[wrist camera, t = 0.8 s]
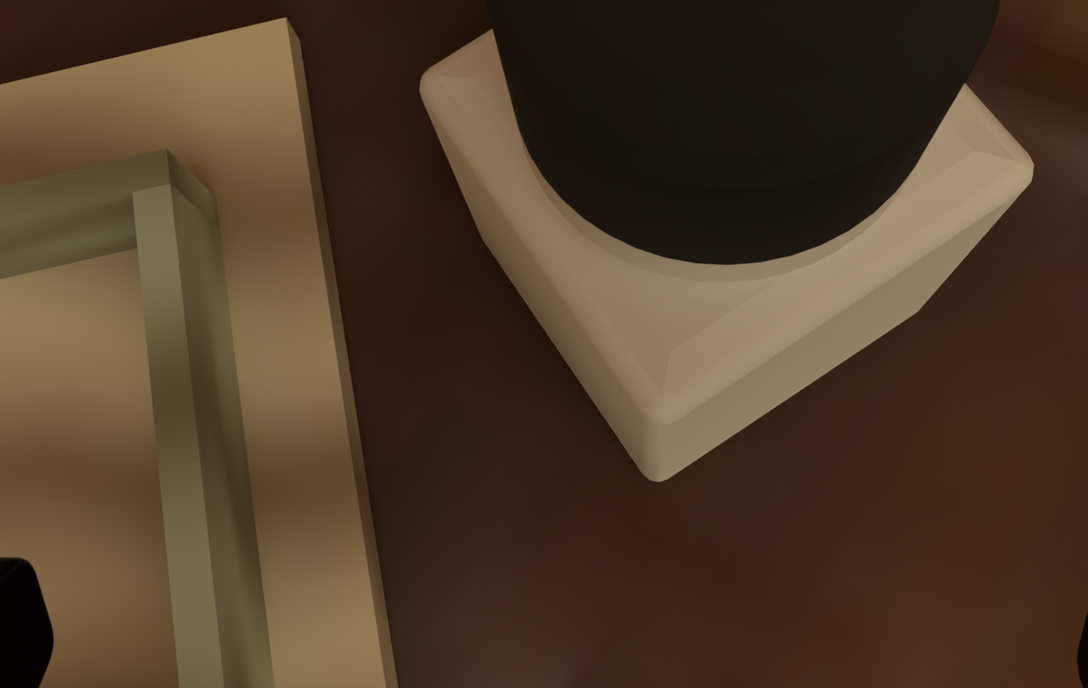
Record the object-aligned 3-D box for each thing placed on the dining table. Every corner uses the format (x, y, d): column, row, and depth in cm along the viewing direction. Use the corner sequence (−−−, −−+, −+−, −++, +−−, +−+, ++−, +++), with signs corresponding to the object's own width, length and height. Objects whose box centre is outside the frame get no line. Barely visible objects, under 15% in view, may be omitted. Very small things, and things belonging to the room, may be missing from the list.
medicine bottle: (926, 307, 22) (1232, -35, 11) (652, 491, 22) (659, 341, 10) (731, 68, 24) (810, -442, 13) (476, 232, 24) (312, -141, 12)
